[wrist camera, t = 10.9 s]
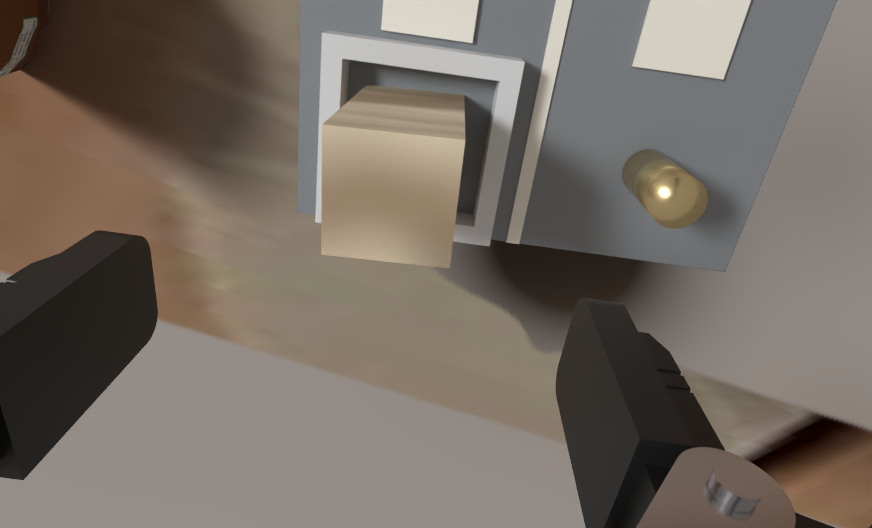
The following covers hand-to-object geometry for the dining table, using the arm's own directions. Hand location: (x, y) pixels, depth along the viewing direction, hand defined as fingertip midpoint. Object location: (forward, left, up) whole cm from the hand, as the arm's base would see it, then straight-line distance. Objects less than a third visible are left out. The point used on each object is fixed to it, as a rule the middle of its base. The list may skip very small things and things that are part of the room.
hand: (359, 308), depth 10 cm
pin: (0, +10, -14) cm, 17 cm away
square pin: (0, 0, -14) cm, 14 cm away
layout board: (-2, +5, -15) cm, 16 cm away
